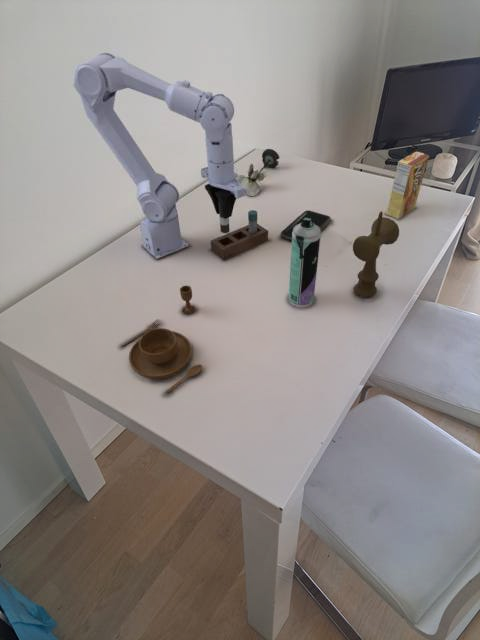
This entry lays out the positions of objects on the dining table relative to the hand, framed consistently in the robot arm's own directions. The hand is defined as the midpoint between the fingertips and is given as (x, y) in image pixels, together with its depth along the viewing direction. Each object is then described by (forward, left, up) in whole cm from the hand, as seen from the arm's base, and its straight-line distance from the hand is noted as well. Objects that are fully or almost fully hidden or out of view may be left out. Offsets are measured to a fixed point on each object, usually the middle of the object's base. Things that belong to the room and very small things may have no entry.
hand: (224, 214), depth 103 cm
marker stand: (+4, 0, -10) cm, 11 cm away
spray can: (+2, -26, -11) cm, 28 cm away
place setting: (-27, -21, -11) cm, 36 cm away
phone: (+23, -5, -10) cm, 26 cm away
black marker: (0, 0, -4) cm, 4 cm away
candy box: (+50, -15, -11) cm, 53 cm away
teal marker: (+9, 0, -10) cm, 13 cm away
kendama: (+14, -33, -11) cm, 38 cm away
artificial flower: (+32, +26, -11) cm, 42 cm away
